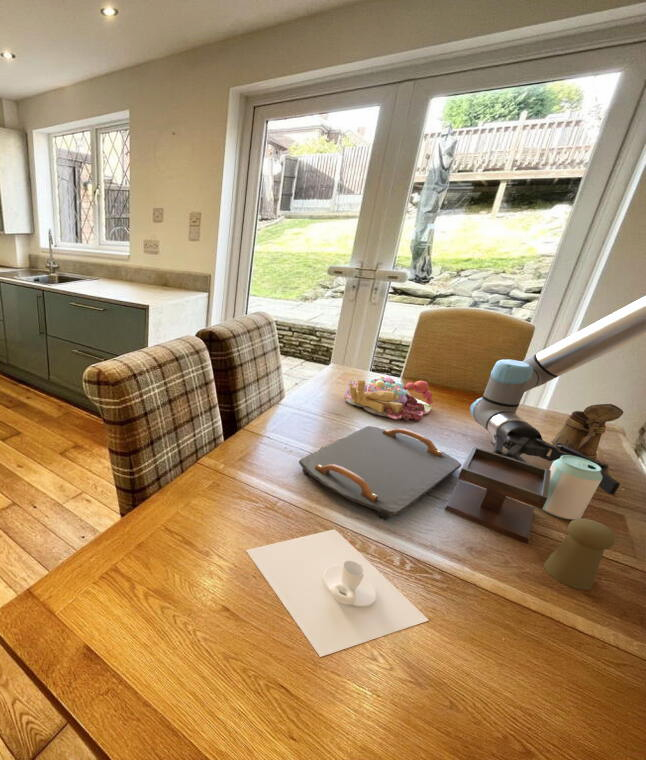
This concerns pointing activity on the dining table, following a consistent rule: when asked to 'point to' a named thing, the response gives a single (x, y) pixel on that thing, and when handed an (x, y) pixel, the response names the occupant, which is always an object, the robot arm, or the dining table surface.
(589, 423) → the wooden mug
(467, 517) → the brown pedestal stand
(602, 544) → the cork
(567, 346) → the robot arm
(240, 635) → the dining table surface
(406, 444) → the serving tray
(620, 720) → the dining table surface
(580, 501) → the can
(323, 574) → the teacup and saucer
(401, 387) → the candy landscape model
